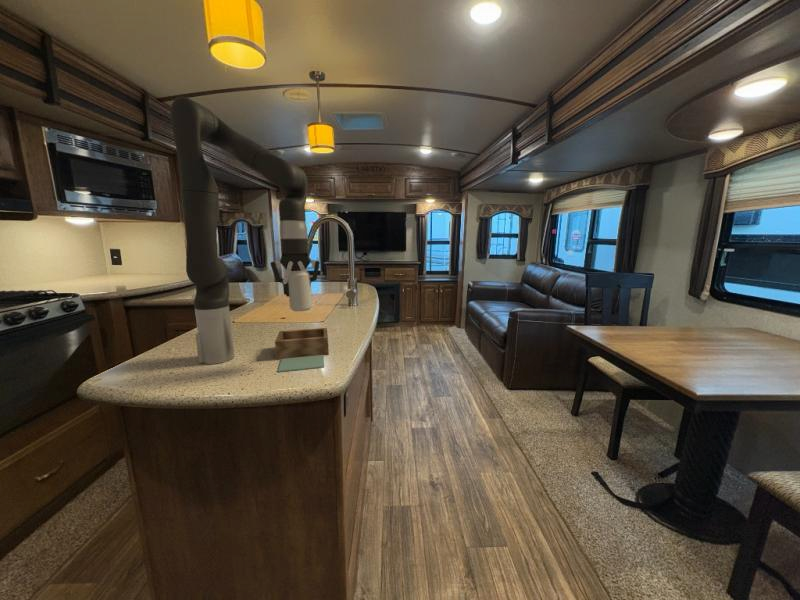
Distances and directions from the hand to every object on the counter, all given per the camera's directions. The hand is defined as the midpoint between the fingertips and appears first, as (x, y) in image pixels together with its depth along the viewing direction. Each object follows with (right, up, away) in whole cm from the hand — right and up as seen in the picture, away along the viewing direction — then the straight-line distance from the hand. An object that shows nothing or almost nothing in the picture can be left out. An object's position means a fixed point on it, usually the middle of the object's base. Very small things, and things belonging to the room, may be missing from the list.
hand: (297, 295), depth 91 cm
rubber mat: (0, -21, +4) cm, 21 cm away
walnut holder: (-3, -19, +15) cm, 24 cm away
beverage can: (+1, -5, +1) cm, 5 cm away
